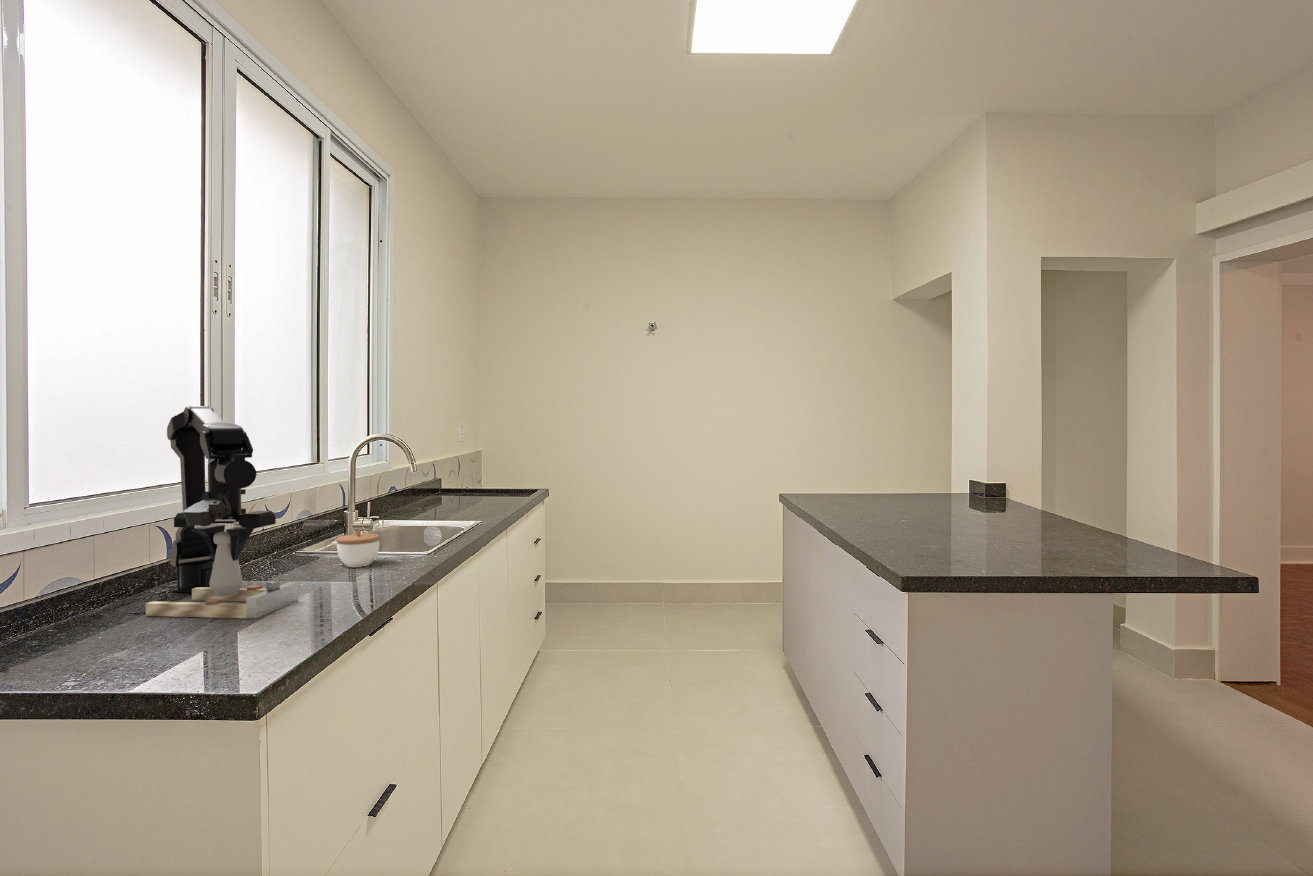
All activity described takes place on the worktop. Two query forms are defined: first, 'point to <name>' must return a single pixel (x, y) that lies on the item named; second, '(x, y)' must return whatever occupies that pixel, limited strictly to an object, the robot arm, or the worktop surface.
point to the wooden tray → (255, 606)
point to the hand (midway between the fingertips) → (226, 560)
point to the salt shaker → (225, 568)
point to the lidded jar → (358, 549)
